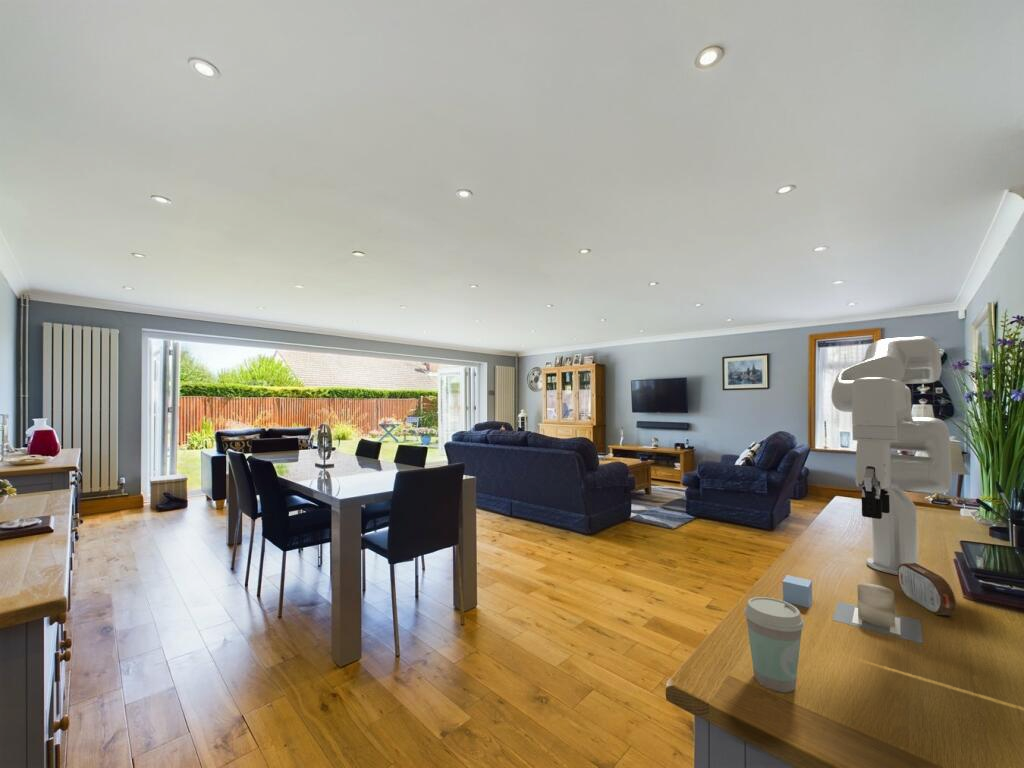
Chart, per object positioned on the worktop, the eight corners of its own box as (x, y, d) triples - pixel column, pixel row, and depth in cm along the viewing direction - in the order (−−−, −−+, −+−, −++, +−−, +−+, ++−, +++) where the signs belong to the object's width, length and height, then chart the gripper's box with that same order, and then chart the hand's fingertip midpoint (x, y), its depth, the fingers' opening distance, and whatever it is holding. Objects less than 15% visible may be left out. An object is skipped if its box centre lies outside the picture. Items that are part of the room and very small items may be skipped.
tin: (958, 623, 93) (957, 582, 94) (940, 621, 94) (939, 581, 94) (910, 593, 108) (909, 558, 108) (895, 592, 109) (894, 557, 109)
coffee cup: (784, 704, 67) (783, 623, 68) (733, 674, 75) (732, 601, 75) (817, 688, 71) (815, 611, 72) (765, 661, 79) (764, 591, 79)
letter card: (837, 602, 102) (837, 601, 102) (920, 622, 93) (920, 620, 93) (832, 621, 93) (832, 619, 93) (923, 645, 84) (923, 643, 84)
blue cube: (787, 596, 106) (786, 574, 106) (812, 602, 103) (811, 580, 103) (783, 603, 102) (782, 581, 102) (809, 610, 99) (808, 587, 99)
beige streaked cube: (859, 610, 98) (858, 581, 98) (895, 619, 94) (894, 588, 94) (857, 620, 93) (856, 589, 93) (895, 630, 89) (894, 597, 89)
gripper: (860, 433, 105) (862, 507, 104) (843, 433, 94) (845, 516, 93) (902, 435, 100) (904, 513, 99) (890, 435, 88) (892, 523, 87)
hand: (876, 514), depth 96 cm, fingers open, 9 cm apart
